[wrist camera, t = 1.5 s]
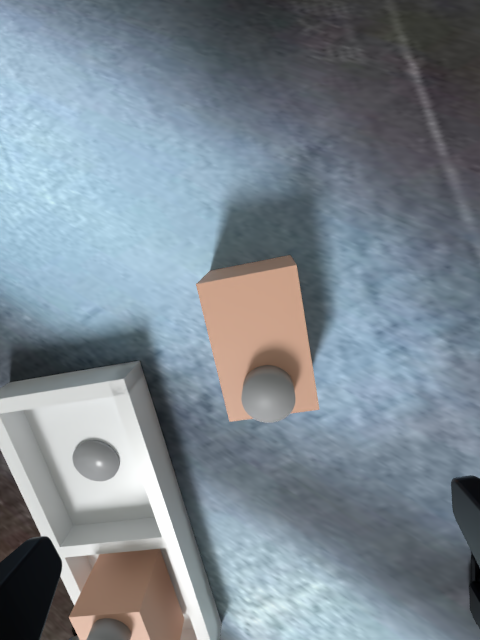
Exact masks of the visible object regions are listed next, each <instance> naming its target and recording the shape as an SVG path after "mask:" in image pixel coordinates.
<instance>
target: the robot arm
mask: <svg viewBox="0 0 480 640" xmlns="http://www.w3.org/2000/svg"><path fill="white" fill-rule="evenodd" d="M451 490H452V508H453V513H454V516H455V519H456V521H457V523H458V525H459V527H460V529H461V531H462V533H463V535H464V537H465V539H466V541H467V543H468V545H469V547H470V549H471V551H472V553H473V555H472V557H471V567H472V581H471V583H470V585H469V589H470V611H471V613H472V615H473V618H474V620H475V622H476V624H477V625H478V626H479V628H480V479H479V478H478V477H475V476H471V475H470V476H463V477H456V478H453V479H452V481H451ZM61 572H62V560H61V558H60V556H59V554H58V552H57V550H56V549H55V547H54V545H53V543H52V541H51V539H50V538H49V537H47V536H41V537H34V538H30V539H28V540H27V541H25V542H24V543H23V544H22V545H20V546H19V547H18V548H17V549H16V550H15V551H13V552H12V553H11V554H10V555H9V556H7V557H6V558H5V559H4V560H3V561H2V562H0V640H40V638H41V635H42V631H43V628H44V625H45V622H46V619H47V616H48V613H49V610H50V606H51V603H52V600H53V597H54V594H55V591H56V588H57V585H58V581H59V578H60V575H61Z"/></svg>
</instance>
